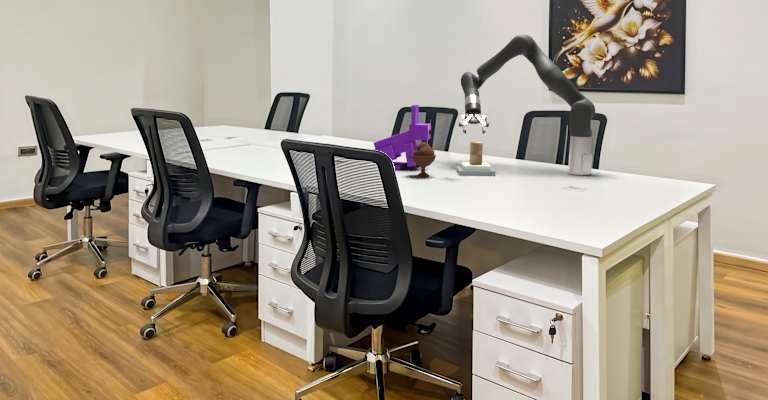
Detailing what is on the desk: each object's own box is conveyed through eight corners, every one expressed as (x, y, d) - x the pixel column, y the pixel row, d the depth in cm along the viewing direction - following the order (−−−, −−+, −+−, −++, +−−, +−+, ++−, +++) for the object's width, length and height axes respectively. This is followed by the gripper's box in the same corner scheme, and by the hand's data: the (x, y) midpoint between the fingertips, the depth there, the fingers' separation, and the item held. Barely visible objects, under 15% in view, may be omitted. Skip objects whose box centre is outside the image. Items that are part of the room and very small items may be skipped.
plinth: (490, 170, 300) (490, 161, 299) (495, 175, 284) (495, 166, 284) (456, 169, 300) (456, 161, 300) (459, 175, 285) (459, 166, 284)
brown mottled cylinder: (480, 163, 294) (481, 141, 292) (481, 165, 289) (482, 143, 287) (469, 163, 294) (470, 141, 292) (470, 164, 289) (471, 143, 287)
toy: (427, 171, 296) (429, 106, 290) (369, 168, 303) (369, 105, 297) (432, 167, 309) (434, 104, 303) (377, 164, 316) (377, 103, 310)
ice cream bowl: (405, 175, 283) (406, 142, 280) (423, 173, 290) (423, 140, 287) (422, 178, 275) (423, 144, 272) (440, 176, 282) (441, 142, 279)
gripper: (458, 101, 303) (460, 127, 294) (488, 101, 303) (490, 127, 294) (457, 111, 309) (458, 137, 300) (486, 111, 309) (488, 137, 300)
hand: (474, 132), depth 297 cm, fingers open, 8 cm apart
